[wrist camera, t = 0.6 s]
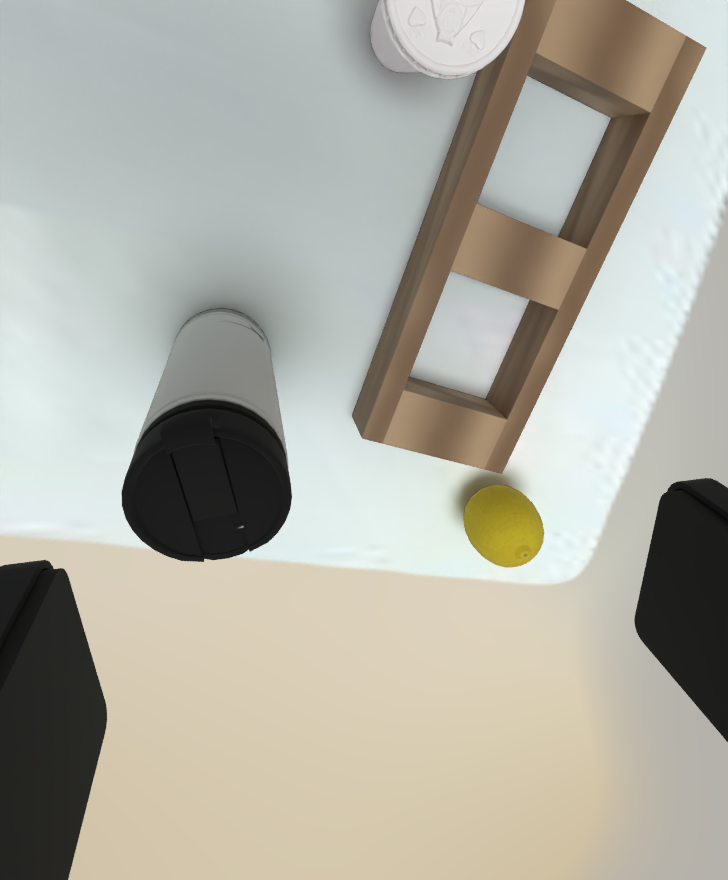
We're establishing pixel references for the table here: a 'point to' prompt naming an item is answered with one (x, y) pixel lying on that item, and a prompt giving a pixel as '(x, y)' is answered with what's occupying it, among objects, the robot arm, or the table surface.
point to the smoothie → (443, 34)
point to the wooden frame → (515, 243)
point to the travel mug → (211, 446)
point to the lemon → (503, 526)
